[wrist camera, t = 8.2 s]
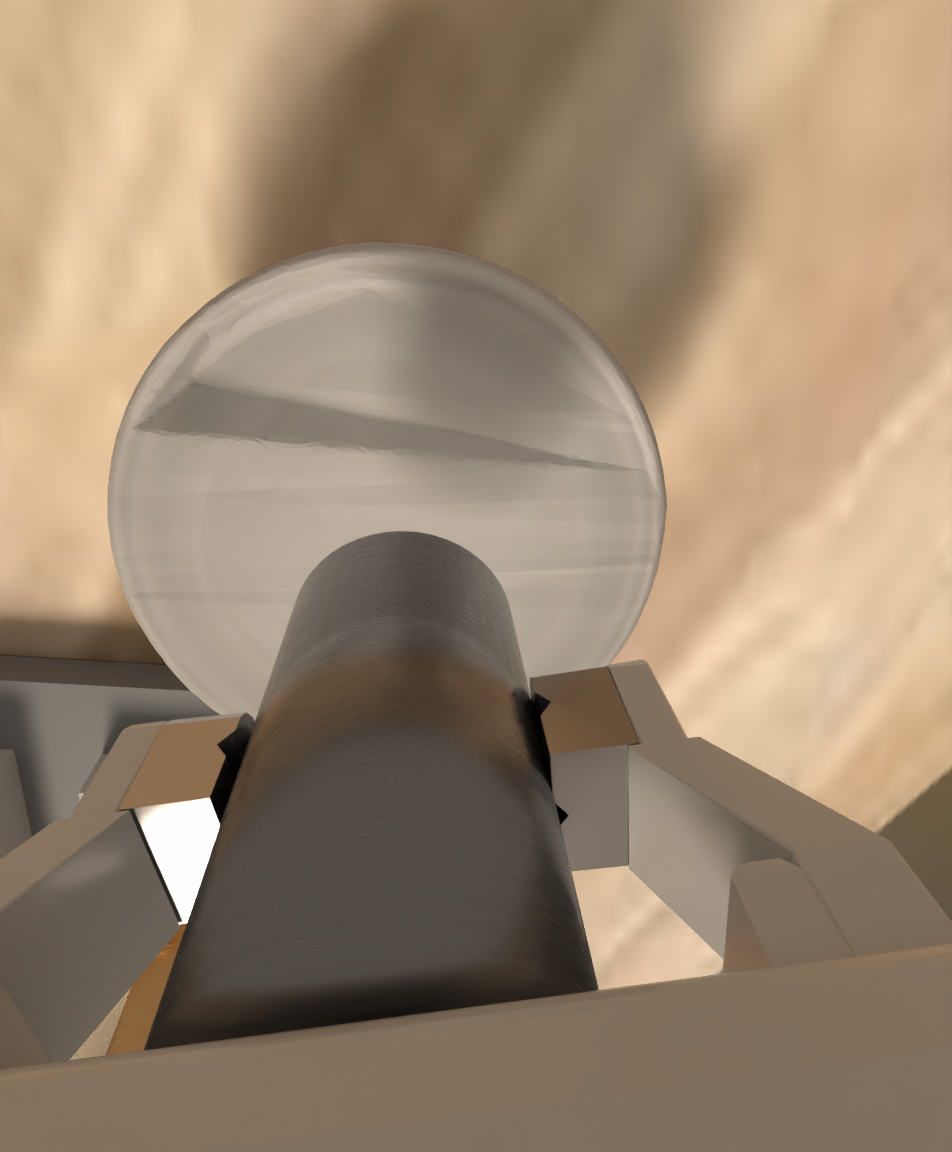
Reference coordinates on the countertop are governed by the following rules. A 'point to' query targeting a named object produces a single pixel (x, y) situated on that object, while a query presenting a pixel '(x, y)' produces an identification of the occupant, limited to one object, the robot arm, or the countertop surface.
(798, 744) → the countertop surface
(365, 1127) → the robot arm
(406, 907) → the cylinder
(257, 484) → the ramekin
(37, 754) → the gray slab
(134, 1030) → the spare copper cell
